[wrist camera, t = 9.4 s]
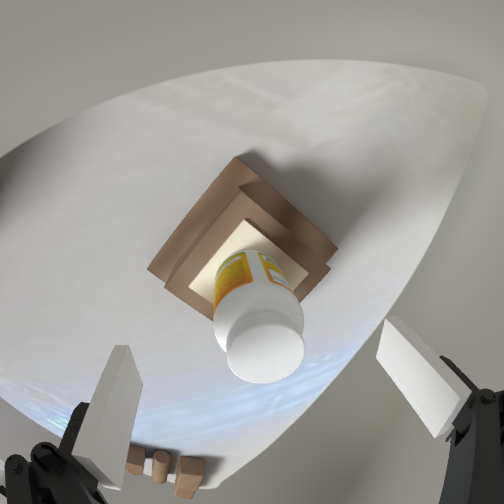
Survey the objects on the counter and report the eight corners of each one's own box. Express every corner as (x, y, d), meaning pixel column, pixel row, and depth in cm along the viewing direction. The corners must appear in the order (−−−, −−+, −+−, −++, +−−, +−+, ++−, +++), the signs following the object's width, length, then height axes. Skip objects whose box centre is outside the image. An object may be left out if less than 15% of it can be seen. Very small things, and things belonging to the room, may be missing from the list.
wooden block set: (205, 478, 36) (192, 504, 40) (205, 455, 41) (192, 485, 46) (112, 459, 32) (119, 489, 37) (117, 437, 38) (122, 471, 42)
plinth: (151, 262, 28) (132, 291, 21) (234, 157, 26) (238, 153, 19) (249, 331, 32) (257, 371, 25) (331, 243, 30) (361, 266, 23)
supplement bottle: (214, 309, 23) (212, 393, 13) (215, 247, 21) (211, 310, 12) (277, 309, 23) (308, 389, 14) (284, 249, 22) (328, 309, 13)
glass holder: (4, 467, 47) (-4, 489, 33) (28, 485, 52) (21, 506, 37) (0, 466, 48) (-8, 487, 34) (22, 484, 52) (15, 504, 38)
